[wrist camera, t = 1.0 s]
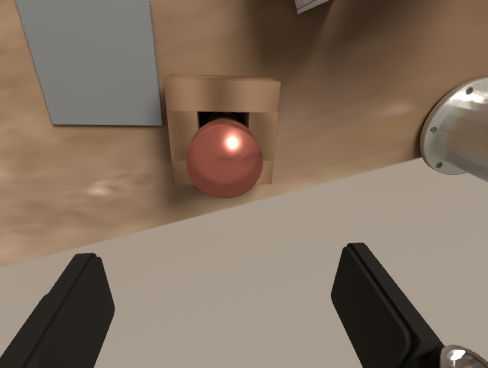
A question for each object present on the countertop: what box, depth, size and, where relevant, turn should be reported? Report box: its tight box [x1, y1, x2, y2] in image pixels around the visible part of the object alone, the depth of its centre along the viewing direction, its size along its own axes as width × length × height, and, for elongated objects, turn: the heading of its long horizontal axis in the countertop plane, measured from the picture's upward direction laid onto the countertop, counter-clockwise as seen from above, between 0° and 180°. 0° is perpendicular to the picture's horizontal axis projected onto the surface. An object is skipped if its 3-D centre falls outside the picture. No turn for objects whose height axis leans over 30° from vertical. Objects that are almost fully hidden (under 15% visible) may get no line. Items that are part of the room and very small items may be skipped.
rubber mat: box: [16, 0, 163, 125], centre depth 27 cm, size 12×12×1 cm
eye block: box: [164, 74, 281, 185], centre depth 29 cm, size 11×11×5 cm
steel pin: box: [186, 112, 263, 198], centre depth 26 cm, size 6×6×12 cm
